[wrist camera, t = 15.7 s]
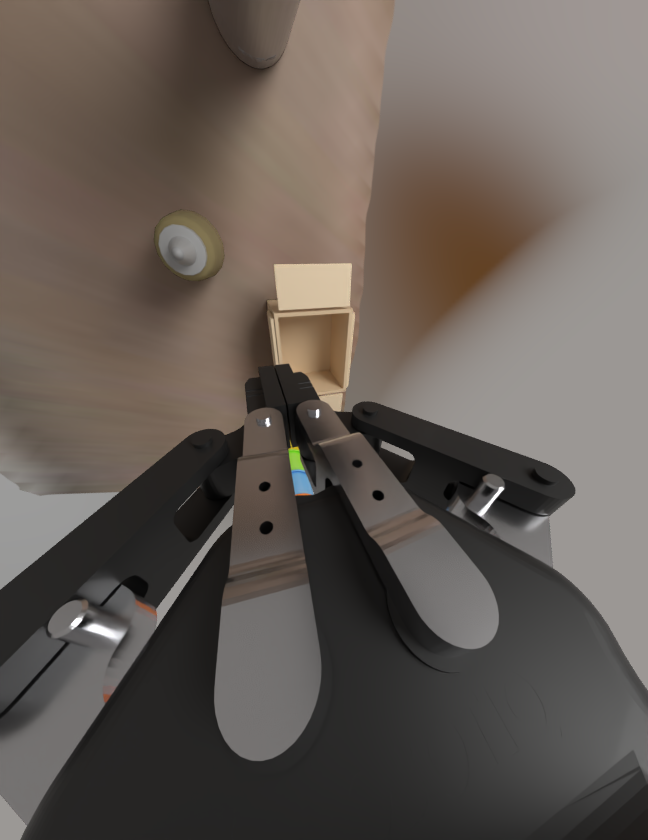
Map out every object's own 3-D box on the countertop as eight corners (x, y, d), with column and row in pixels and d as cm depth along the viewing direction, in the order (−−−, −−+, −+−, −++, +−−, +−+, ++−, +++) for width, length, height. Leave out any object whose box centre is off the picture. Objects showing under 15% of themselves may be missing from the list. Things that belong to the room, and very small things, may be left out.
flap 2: (287, 403, 47) (289, 423, 51) (342, 394, 50) (340, 414, 54) (287, 401, 48) (289, 422, 52) (341, 392, 51) (339, 413, 55)
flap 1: (278, 309, 37) (273, 264, 33) (348, 305, 40) (350, 263, 36) (278, 310, 36) (273, 264, 33) (349, 306, 39) (351, 263, 36)
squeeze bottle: (235, 257, 39) (238, 271, 25) (197, 285, 39) (181, 313, 26) (196, 198, 33) (173, 175, 20) (152, 232, 34) (103, 232, 21)
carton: (263, 300, 44) (270, 313, 36) (336, 296, 47) (356, 308, 40) (273, 378, 54) (280, 401, 47) (333, 370, 58) (348, 390, 51)
